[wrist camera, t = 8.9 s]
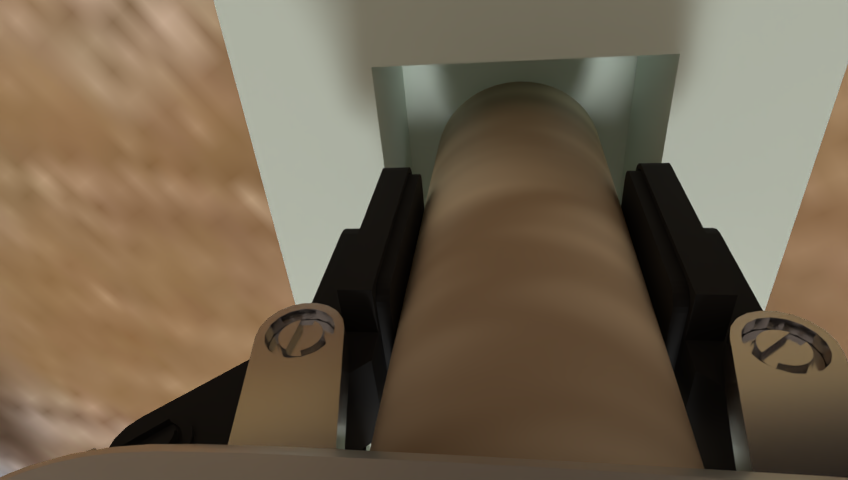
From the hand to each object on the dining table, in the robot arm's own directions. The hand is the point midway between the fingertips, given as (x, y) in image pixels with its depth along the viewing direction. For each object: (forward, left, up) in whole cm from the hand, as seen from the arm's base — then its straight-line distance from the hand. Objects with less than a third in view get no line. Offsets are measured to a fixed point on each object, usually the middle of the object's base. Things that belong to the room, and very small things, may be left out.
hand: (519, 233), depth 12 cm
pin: (0, 0, -3) cm, 3 cm away
